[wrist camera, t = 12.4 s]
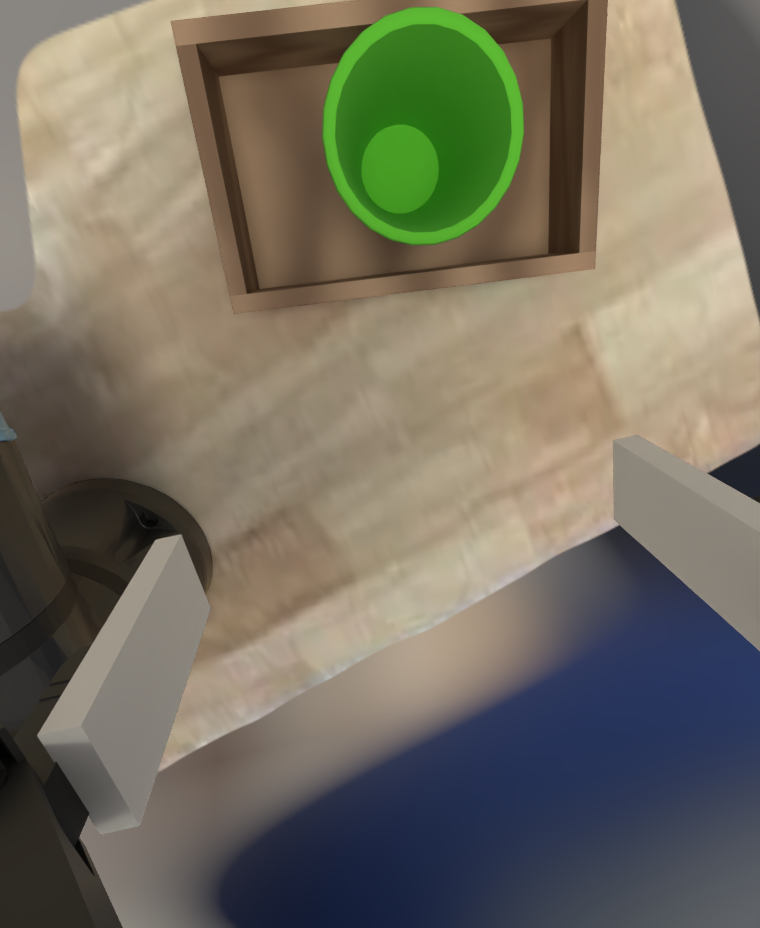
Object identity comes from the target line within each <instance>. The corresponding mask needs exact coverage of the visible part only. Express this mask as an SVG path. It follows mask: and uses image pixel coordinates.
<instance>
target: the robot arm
mask: <svg viewBox="0 0 760 928" xmlns="http://www.w3.org/2000/svg"><path fill="white" fill-rule="evenodd" d="M14 439H17V436H16V433H15V431H14V429H12V428H10V427H8V425H7V423H6V421H5V419H4V418H3V416H2V414H1V412H0V928H123V927H122V925H121V923H120V921H119V919H118V917H117V914H116V912H115V910H114V908H113V906H112V903H111V902H110V899H109V897H108V895H107V892H106V890H105V888H104V886H103V884H102V882H101V879H100V877H99V875H98V873H97V871H96V869H95V866H94V864H93V862H92V860H91V858H90V855H89V853H88V851H87V849H86V847H85V845H84V844H83V842H82V841H81V839H80V838H79V836H80V834H81V831H82V829H83V827H84V825H85V822H86V820H87V817H88V816H89V817H90V819H91V820H92V822H93V823H94V825H95V826H96V828H97V829H98V831H99V833H100V834H106V833H110V832H114V831H119V830H123V829H128V828H132V827H136V826H140V823H141V820H142V817H143V814H144V811H145V808H146V805H147V802H148V799H149V796H150V792H151V790H152V787H153V783H154V780H155V777H156V774H157V771H158V768H159V765H160V762H161V759H162V756H163V753H164V750H165V747H166V744H167V741H168V738H169V735H170V732H171V729H172V726H173V723H174V720H175V716H176V713H177V710H178V707H179V704H180V701H181V698H182V695H183V692H184V689H185V686H186V683H187V680H188V677H189V674H190V671H191V668H192V665H193V662H194V658H195V655H196V652H197V649H198V646H199V643H200V640H201V637H202V634H203V631H204V628H205V625H206V622H207V619H208V616H209V613H210V610H211V608H210V605H209V603H208V600H207V598H206V592H207V590H208V587H209V584H210V581H211V576H212V558H211V553H210V549H209V546H208V543H207V540H206V538H205V536H204V534H203V532H202V530H201V529H200V527H199V526H198V524H197V523H196V522H195V520H194V519H193V518H192V517H191V516H190V515H189V514H188V513H187V512H186V511H185V510H184V509H183V508H182V507H181V506H180V505H178V504H177V503H176V502H174V501H173V500H171V499H170V498H168V497H167V496H165V495H163V494H162V493H160V492H158V491H156V490H153V489H151V488H149V487H146V486H143V485H140V484H137V483H133V482H129V481H123V480H115V479H94V480H87V481H81V482H77V483H74V484H71V485H68V486H66V487H63V488H61V489H59V490H58V491H56V492H54V493H53V494H51V495H50V496H49V497H47V498H46V499H45V500H44V501H42V502H40V500H39V497H38V495H37V493H36V491H35V488H34V486H33V484H32V481H31V479H30V476H29V474H28V472H27V469H26V467H25V464H24V462H23V459H22V457H21V455H20V452H19V450H18V447H17V445H16V442H15V440H14ZM613 493H614V520H615V521H616V522H617V523H618V524H619V525H620V526H622V527H623V528H624V529H625V530H626V531H627V532H628V533H629V534H630V535H632V536H633V537H634V538H635V539H636V540H637V541H638V542H639V543H641V544H642V545H643V546H644V547H645V548H646V549H647V550H648V551H649V552H650V553H652V554H653V555H654V556H655V557H656V558H657V559H658V560H659V561H660V562H662V563H663V564H664V565H665V566H666V567H667V568H668V569H669V570H670V571H672V572H673V573H674V574H675V575H676V576H677V577H678V578H679V579H680V580H682V581H683V582H684V583H685V584H686V585H687V586H688V587H689V588H690V589H692V590H693V591H694V592H695V593H696V594H697V595H698V596H699V597H700V598H702V599H703V600H704V601H705V602H706V603H707V604H708V605H709V606H710V607H712V608H713V609H714V610H715V611H716V612H717V613H718V614H719V615H720V616H722V617H723V618H724V619H725V620H726V621H727V622H728V623H729V624H730V625H732V626H733V627H734V628H735V629H736V630H737V631H738V632H739V633H741V634H742V635H743V636H744V637H745V638H746V639H747V640H748V641H749V642H750V643H752V644H753V645H754V646H755V647H756V648H757V649H758V650H759V651H760V497H758V496H757V497H752V498H749V497H748V496H746V495H744V494H742V493H740V492H738V491H737V490H735V489H733V488H731V487H730V486H728V485H726V484H724V483H723V482H721V481H719V480H717V479H715V478H713V477H712V476H710V475H708V474H707V473H705V472H703V471H701V470H699V469H698V468H696V467H694V466H692V465H690V464H689V463H687V462H685V461H683V460H682V459H680V458H678V457H676V456H674V455H673V454H671V453H669V452H667V451H665V450H664V449H662V448H660V447H658V446H657V445H655V444H653V443H651V442H649V441H648V440H646V439H644V438H642V437H641V436H639V435H635V436H630V437H625V438H621V439H616V440H613Z"/></svg>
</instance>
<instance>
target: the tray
mask: <svg viewBox="0 0 760 928" xmlns="http://www.w3.org/2000/svg"><path fill="white" fill-rule="evenodd" d="M607 5H608V0H353V1H344V2H335V3H326V4H317V5H309V6H300V7H291V8H282V9H273V10H264V11H255V12H246V13H238V14H229V15H220V16H211V17H202V18H193V19H184V20H175V21H171V26H172V30H173V35H174V39H175V44H176V49H177V53H178V58H179V63H180V67H181V72H182V76H183V81H184V86H185V90H186V95H187V100H188V104H189V109H190V113H191V118H192V123H193V127H194V132H195V137H196V141H197V146H198V151H199V155H200V160H201V164H202V169H203V174H204V178H205V183H206V188H207V192H208V197H209V201H210V206H211V211H212V215H213V220H214V225H215V229H216V234H217V238H218V243H219V248H220V252H221V257H222V262H223V266H224V271H225V275H226V280H227V285H228V289H229V294H230V299H231V303H232V308H233V313H234V314H235V313H243V312H251V311H259V310H267V309H275V308H284V307H292V306H300V305H308V304H316V303H324V302H332V301H340V300H348V299H356V298H364V297H372V296H380V295H388V294H397V293H405V292H413V291H421V290H429V289H437V288H445V287H453V286H461V285H469V284H477V283H485V282H493V281H501V280H510V279H518V278H526V277H534V276H542V275H550V274H558V273H566V272H574V271H582V270H590V269H595V258H596V237H597V216H598V195H599V174H600V153H601V132H602V110H603V89H604V68H605V47H606V26H607ZM410 7H439V8H443V9H446V10H449V11H452V12H456V13H459V14H462V15H464V16H465V17H467V18H468V19H470V20H471V21H473V22H474V23H476V24H477V25H479V26H480V27H482V28H483V29H485V30H486V31H487V32H488V34H489V35H490V36H491V37H492V38H493V39H494V41H495V42H496V43H497V44H498V45H499V46H500V48H501V49H502V50H503V51H504V53H505V55H506V57H507V59H508V61H509V63H510V65H511V67H512V69H513V71H514V73H515V75H516V78H517V82H518V86H519V90H520V94H521V98H522V102H523V116H524V137H523V143H522V149H521V155H520V161H519V163H518V166H517V169H516V171H515V174H514V176H513V179H512V182H511V184H510V187H509V188H508V190H507V191H506V193H505V194H504V196H503V197H502V199H501V200H500V202H499V204H498V205H497V207H496V208H495V209H494V210H493V211H492V212H491V213H490V214H489V215H488V216H487V217H486V218H485V219H484V220H483V221H482V222H481V223H480V224H479V225H478V226H477V227H475V228H473V229H472V230H470V231H468V232H467V233H465V234H463V235H462V236H460V237H458V238H456V239H453V240H450V241H446V242H443V243H440V244H436V245H415V246H412V245H408V244H404V243H400V242H395V241H391V240H389V239H387V238H385V237H383V236H381V235H379V234H378V233H376V232H374V231H372V230H370V229H369V228H368V227H367V226H366V225H364V224H363V223H362V222H361V221H360V220H359V219H358V218H357V217H356V216H355V215H354V214H352V213H351V211H350V210H349V208H348V207H347V205H346V204H345V202H344V201H343V199H342V198H341V196H340V195H339V194H338V192H337V190H336V188H335V185H334V183H333V180H332V178H331V175H330V173H329V170H328V168H327V164H326V158H325V152H324V146H323V141H322V124H323V107H324V103H325V99H326V95H327V91H328V87H329V83H330V79H331V77H332V75H333V73H334V71H335V69H336V67H337V65H338V63H339V62H340V60H341V58H342V56H343V54H344V52H345V51H346V50H347V49H348V48H349V46H350V45H351V44H352V43H353V42H354V41H355V39H356V38H357V37H358V36H359V35H360V34H361V32H362V31H363V30H365V29H366V28H368V27H369V26H371V25H372V24H374V23H375V22H377V21H378V20H380V19H381V18H382V17H384V16H385V15H388V14H391V13H395V12H398V11H401V10H404V9H407V8H410Z"/></svg>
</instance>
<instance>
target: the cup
mask: <svg viewBox="0 0 760 928" xmlns="http://www.w3.org/2000/svg"><path fill="white" fill-rule="evenodd" d="M523 137H524V116H523V102H522V98H521V94H520V90H519V86H518V82H517V78H516V75H515V73H514V71H513V69H512V67H511V65H510V63H509V61H508V59H507V57H506V55H505V53H504V51H503V50H502V49H501V48H500V46H499V45H498V44H497V43H496V42H495V41H494V39H493V38H492V37H491V36H490V35H489V34H488V32H487V31H486V30H485V29H483V28H482V27H480V26H479V25H477V24H476V23H474V22H473V21H471V20H470V19H468V18H467V17H465V16H464V15H462V14H459V13H456V12H452V11H449V10H446V9H443V8H439V7H410V8H407V9H404V10H401V11H398V12H395V13H391V14H388V15H385V16H384V17H382V18H381V19H380V20H378V21H377V22H375V23H374V24H372V25H371V26H369V27H368V28H366V29H365V30H363V31H362V32H361V34H360V35H359V36H358V37H357V38H356V39H355V41H354V42H353V43H352V44H351V45H350V46H349V48H348V49H347V50H346V51H345V52H344V54H343V56H342V58H341V60H340V62H339V63H338V65H337V67H336V69H335V71H334V73H333V75H332V77H331V79H330V83H329V87H328V91H327V95H326V99H325V103H324V107H323V124H322V141H323V146H324V152H325V158H326V164H327V168H328V170H329V173H330V175H331V178H332V180H333V183H334V185H335V188H336V190H337V192H338V194H339V195H340V196H341V198H342V199H343V201H344V202H345V204H346V205H347V207H348V208H349V210H350V211H351V213H352V214H354V215H355V216H356V217H357V218H358V219H359V220H360V221H361V222H362V223H363V224H364V225H366V226H367V227H368V228H369V229H370V230H372V231H374V232H376V233H378V234H379V235H381V236H383V237H385V238H387V239H389V240H391V241H395V242H400V243H404V244H408V245H412V246H415V245H436V244H440V243H443V242H446V241H450V240H453V239H456V238H458V237H460V236H462V235H463V234H465V233H467V232H468V231H470V230H472V229H473V228H475V227H477V226H478V225H479V224H480V223H481V222H482V221H483V220H484V219H485V218H486V217H487V216H488V215H489V214H490V213H491V212H492V211H493V210H494V209H495V208H496V207H497V205H498V204H499V202H500V200H501V199H502V197H503V196H504V194H505V193H506V191H507V190H508V188H509V187H510V184H511V182H512V179H513V176H514V174H515V171H516V169H517V166H518V163H519V161H520V155H521V149H522V143H523Z"/></svg>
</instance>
